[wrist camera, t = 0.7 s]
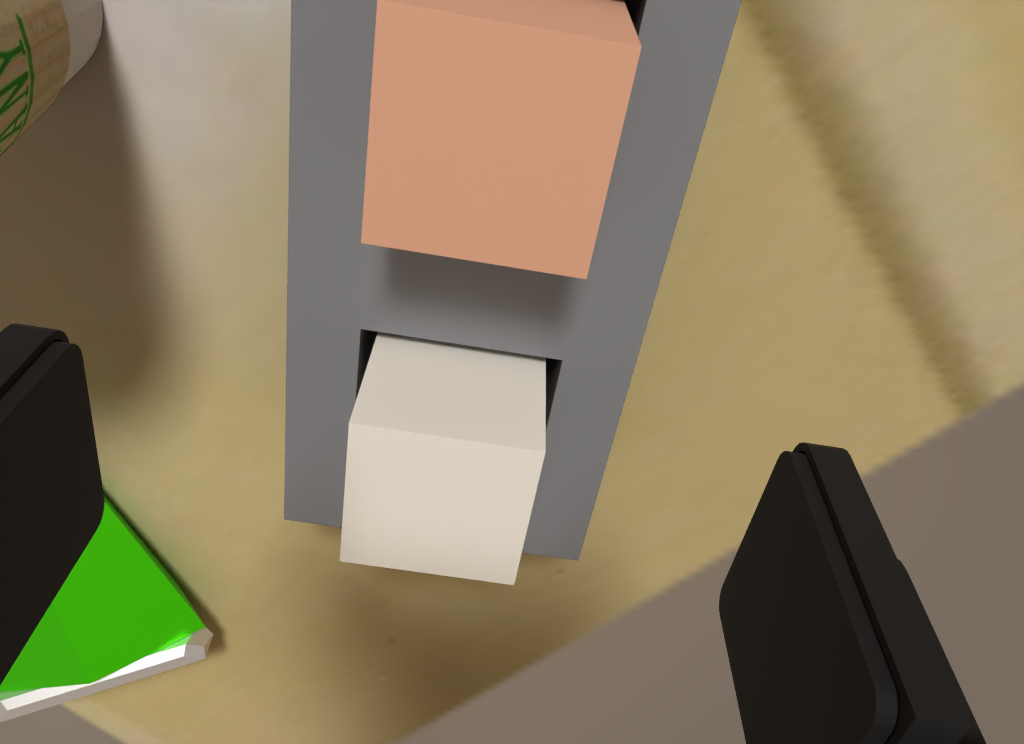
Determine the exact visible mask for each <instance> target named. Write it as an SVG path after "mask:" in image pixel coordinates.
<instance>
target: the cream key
mask: <svg viewBox="0 0 1024 744" xmlns="http://www.w3.org/2000/svg"><path fill="white" fill-rule="evenodd" d="M545 452H546V358H545V357H539V356H532V355H526V354H519V353H513V352H506V351H500V350H493V349H487V348H480V347H474V346H468V345H461V344H455V343H448V342H442V341H435V340H429V339H422V338H416V337H409V336H403V335H396V334H390V333H383V332H378V333H377V336H376V340H375V343H374V346H373V349H372V352H371V355H370V358H369V362H368V365H367V368H366V371H365V374H364V377H363V380H362V384H361V387H360V390H359V393H358V396H357V399H356V402H355V405H354V409H353V412H352V415H351V418H350V421H349V430H348V445H347V459H346V474H345V489H344V504H343V519H342V534H341V549H340V561H342V562H349V563H356V564H363V565H371V566H378V567H385V568H393V569H400V570H407V571H414V572H422V573H429V574H436V575H443V576H451V577H458V578H465V579H472V580H480V581H487V582H494V583H502V584H509V585H514V583H515V579H516V575H517V570H518V566H519V562H520V558H521V554H522V549H523V545H524V541H525V537H526V533H527V528H528V524H529V520H530V516H531V511H532V507H533V503H534V499H535V495H536V490H537V486H538V482H539V478H540V473H541V469H542V465H543V461H544V457H545Z"/></svg>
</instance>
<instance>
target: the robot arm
mask: <svg viewBox="0 0 1024 744" xmlns="http://www.w3.org/2000/svg"><path fill="white" fill-rule="evenodd" d="M103 512H104V494H103V487H102V481H101V474H100V468H99V461H98V455H97V448H96V442H95V435H94V428H93V422H92V415H91V409H90V402H89V396H88V389H87V383H86V376H85V370H84V363H83V357H82V352H81V349H80V348H79V346H78V345H76V344H71V343H69V340H68V337H67V336H66V334H65V333H64V332H62V331H60V330H55V329H48V328H42V327H35V326H28V325H22V324H10V325H9V326H8V327H6V328H5V329H4V330H3V331H2V332H0V685H1V684H2V682H3V680H4V679H5V677H6V675H7V674H8V672H9V671H10V669H11V667H12V666H13V664H14V663H15V661H16V659H17V658H18V656H19V655H20V653H21V651H22V650H23V648H24V647H25V645H26V643H27V642H28V640H29V638H30V637H31V635H32V634H33V632H34V630H35V629H36V627H37V626H38V624H39V622H40V621H41V619H42V618H43V616H44V614H45V613H46V611H47V609H48V608H49V606H50V605H51V603H52V601H53V600H54V598H55V597H56V595H57V593H58V592H59V590H60V589H61V587H62V585H63V584H64V582H65V580H66V579H67V577H68V576H69V574H70V572H71V571H72V569H73V568H74V566H75V564H76V563H77V561H78V560H79V558H80V556H81V555H82V553H83V552H84V550H85V548H86V547H87V545H88V543H89V542H90V540H91V539H92V537H93V535H94V534H95V532H96V531H97V529H98V527H99V525H100V522H101V520H102V516H103ZM719 612H720V618H721V623H722V628H723V633H724V638H725V642H726V647H727V652H728V657H729V662H730V667H731V671H732V676H733V681H734V686H735V691H736V696H737V700H738V706H739V710H740V715H741V720H742V725H743V730H744V735H745V739H746V744H986V742H985V740H984V738H983V736H982V734H981V731H980V729H979V727H978V725H977V723H976V720H975V718H974V716H973V714H972V712H971V709H970V707H969V705H968V703H967V701H966V699H965V696H964V694H963V692H962V690H961V688H960V685H959V683H958V681H957V679H956V677H955V675H954V672H953V670H952V668H951V666H950V664H949V662H948V659H947V657H946V655H945V653H944V651H943V648H942V646H941V644H940V642H939V640H938V638H937V635H936V633H935V631H934V629H933V627H932V625H931V622H930V621H929V618H928V616H927V614H926V611H925V609H924V607H923V605H922V603H921V601H920V598H919V596H918V594H917V592H916V590H915V587H914V585H913V583H912V581H911V579H910V577H909V574H908V572H907V571H906V569H905V567H904V566H903V564H902V563H901V561H900V560H898V559H897V558H896V555H895V553H894V551H893V549H892V547H891V544H890V542H889V540H888V538H887V535H886V533H885V531H884V529H883V527H882V525H881V522H880V520H879V518H878V516H877V514H876V511H875V509H874V507H873V505H872V502H871V500H870V498H869V496H868V494H867V492H866V489H865V487H864V485H863V483H862V480H861V478H860V476H859V474H858V472H857V469H856V467H855V465H854V463H853V460H852V458H851V456H850V455H849V453H848V452H847V450H845V449H843V448H837V447H830V446H824V445H817V444H810V443H804V442H803V443H799V444H798V445H797V446H796V447H795V449H794V450H793V452H790V451H784V452H783V453H782V454H780V456H779V458H778V460H777V462H776V464H775V467H774V469H773V471H772V474H771V476H770V478H769V481H768V483H767V485H766V487H765V490H764V492H763V494H762V497H761V499H760V501H759V503H758V506H757V508H756V510H755V513H754V515H753V517H752V519H751V522H750V524H749V526H748V529H747V531H746V533H745V536H744V538H743V540H742V542H741V545H740V547H739V549H738V552H737V554H736V556H735V558H734V561H733V563H732V566H731V568H730V570H729V572H728V574H727V577H726V579H725V581H724V584H723V586H722V589H721V594H720V600H719Z"/></svg>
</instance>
